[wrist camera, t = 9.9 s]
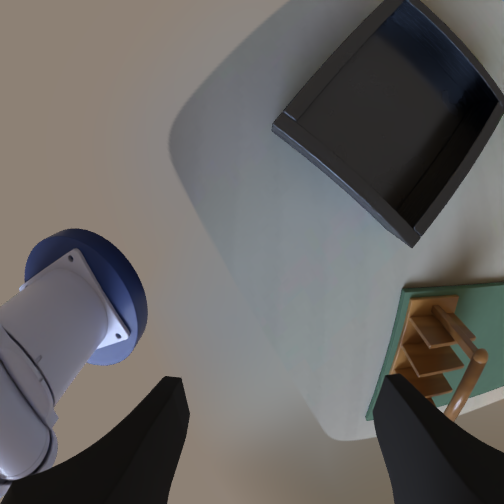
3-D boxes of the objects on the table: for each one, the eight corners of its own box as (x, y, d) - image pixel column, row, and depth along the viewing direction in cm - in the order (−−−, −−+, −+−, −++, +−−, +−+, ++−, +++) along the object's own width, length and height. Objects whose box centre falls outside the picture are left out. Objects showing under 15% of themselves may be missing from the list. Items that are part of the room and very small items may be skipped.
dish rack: (429, 373, 21) (462, 433, 14) (386, 380, 21) (413, 448, 14) (456, 294, 18) (511, 348, 11) (409, 297, 18) (460, 361, 11)
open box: (387, 230, 18) (412, 248, 14) (270, 130, 16) (271, 124, 13) (476, 106, 14) (509, 103, 11) (379, 8, 13) (400, -16, 9)
